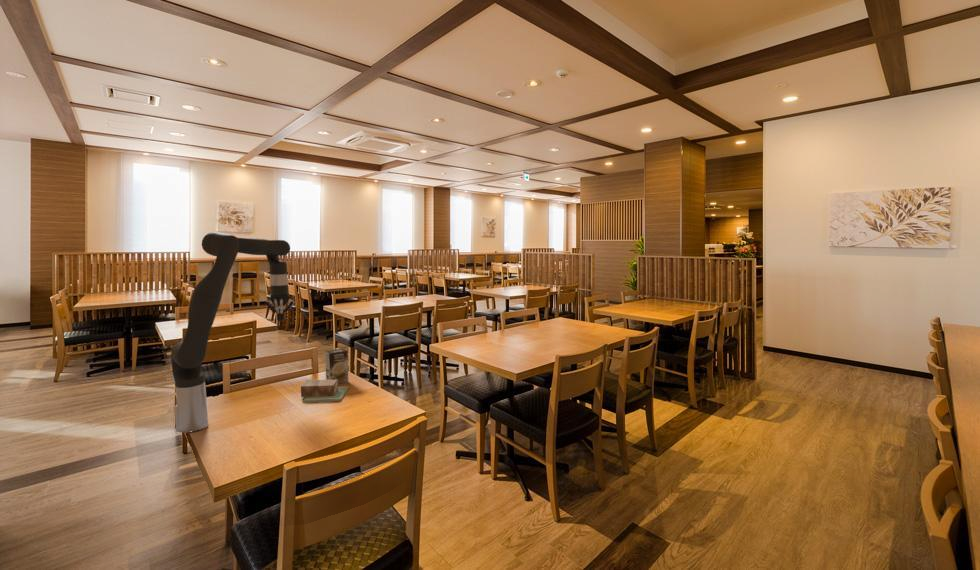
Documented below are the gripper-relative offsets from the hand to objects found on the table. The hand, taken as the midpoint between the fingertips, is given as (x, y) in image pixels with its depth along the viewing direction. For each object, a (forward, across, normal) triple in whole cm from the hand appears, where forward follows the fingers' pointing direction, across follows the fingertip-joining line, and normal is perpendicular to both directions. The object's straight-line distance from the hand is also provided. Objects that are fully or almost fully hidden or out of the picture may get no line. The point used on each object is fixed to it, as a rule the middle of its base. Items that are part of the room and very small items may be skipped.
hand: (281, 321), depth 200 cm
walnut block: (+30, +11, -8) cm, 33 cm away
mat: (+33, +21, -8) cm, 40 cm away
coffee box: (+33, +22, +9) cm, 41 cm away
